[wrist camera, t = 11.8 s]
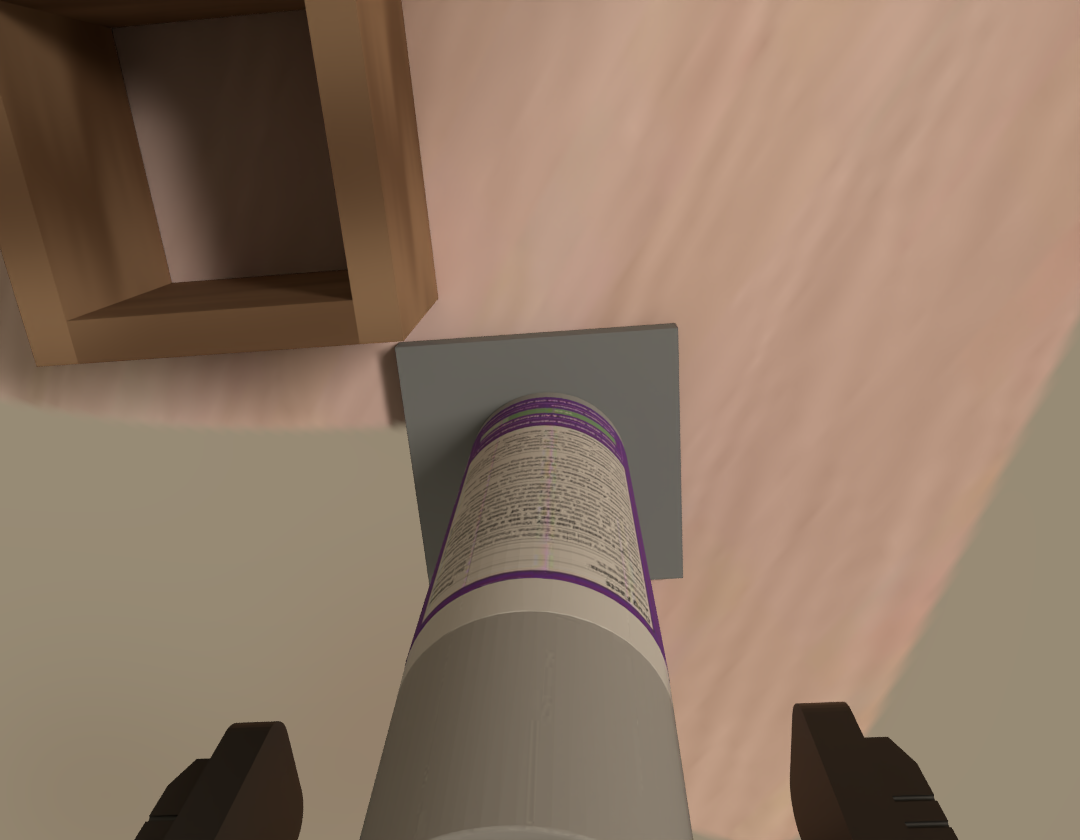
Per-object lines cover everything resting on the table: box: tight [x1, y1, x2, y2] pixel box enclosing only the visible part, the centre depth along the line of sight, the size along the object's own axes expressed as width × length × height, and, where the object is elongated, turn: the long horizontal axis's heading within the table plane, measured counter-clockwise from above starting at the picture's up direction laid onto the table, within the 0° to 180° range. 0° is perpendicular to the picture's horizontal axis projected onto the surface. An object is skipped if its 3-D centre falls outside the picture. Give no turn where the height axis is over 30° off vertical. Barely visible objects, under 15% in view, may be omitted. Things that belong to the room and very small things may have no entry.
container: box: [360, 392, 693, 840], centre depth 16 cm, size 5×5×15 cm
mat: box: [395, 323, 683, 585], centre depth 23 cm, size 8×8×1 cm
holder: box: [0, 0, 438, 367], centre depth 19 cm, size 9×9×5 cm
